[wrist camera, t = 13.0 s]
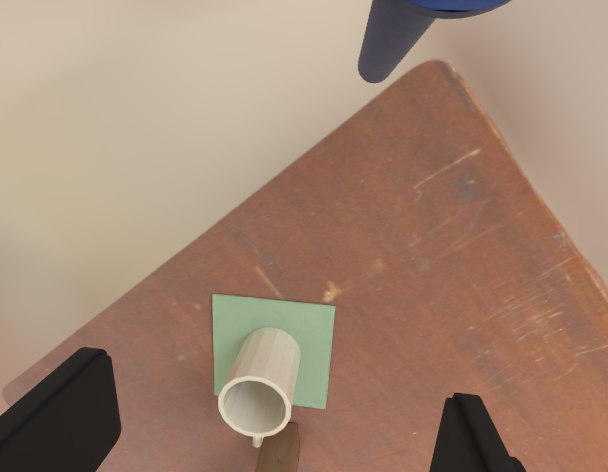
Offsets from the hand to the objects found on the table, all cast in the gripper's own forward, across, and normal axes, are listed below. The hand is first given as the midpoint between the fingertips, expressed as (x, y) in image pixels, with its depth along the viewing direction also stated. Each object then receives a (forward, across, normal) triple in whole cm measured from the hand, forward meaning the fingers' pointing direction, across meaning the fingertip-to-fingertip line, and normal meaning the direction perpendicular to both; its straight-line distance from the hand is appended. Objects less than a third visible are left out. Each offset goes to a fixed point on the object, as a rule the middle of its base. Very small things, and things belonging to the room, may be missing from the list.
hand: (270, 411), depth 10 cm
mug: (+27, +5, +20) cm, 34 cm away
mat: (+27, +5, +19) cm, 33 cm away
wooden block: (+27, +3, +31) cm, 41 cm away
